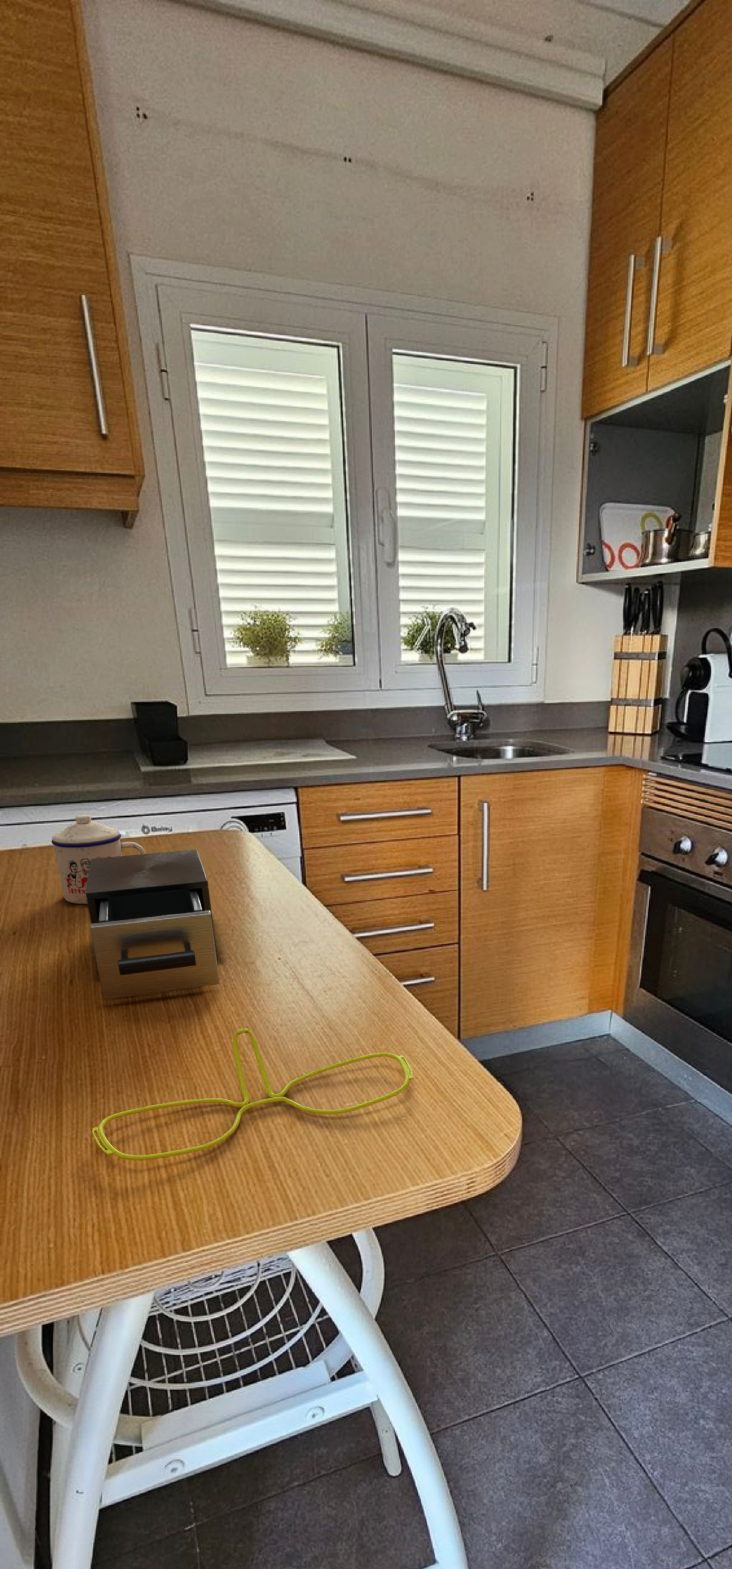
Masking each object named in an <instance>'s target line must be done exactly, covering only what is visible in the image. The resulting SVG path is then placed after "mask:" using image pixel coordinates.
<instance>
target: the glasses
mask: <svg viewBox="0 0 732 1569" xmlns="http://www.w3.org/2000/svg"><path fill="white" fill-rule="evenodd" d="M242 1034H248V1035H249V1038H250V1041H251V1045H252V1048H253V1052H254V1055H255V1058H256V1062H257V1066H258V1069H259V1072H260V1075H261V1079H262V1081H263V1084H264V1088H265V1091H266V1093H267V1095H268V1098H264V1099H260V1100H256V1101H253V1102H250V1097H249V1092H248V1089H247V1084H246V1081H245V1076H244V1072H243V1068H242V1063H241V1058H240V1052H239V1047H238V1036H240V1035H242ZM232 1053H233V1058H234V1063H235V1068H236V1072H237V1078H238V1082H239V1086H240V1091H241V1094H242V1098H243V1101H240V1102H238V1101H233V1100H230V1099H226V1098H221V1097H219V1098H218V1097H212V1098H195V1099H185V1100H179V1101H172V1102H171V1101H170V1102H163V1103H160V1104H159V1103H158V1104H151V1105H146V1106H142V1107H137V1108H133V1109H129V1110H124V1111H121V1112H116V1113H114V1114H111V1115H109V1116H106V1117H105V1118H103V1119H102V1121H100V1123H99V1124H98V1126H96V1127H93V1128H92V1129H91V1132H92V1136H93V1138H94V1141H95V1143H96V1144H97V1146H98V1147H99V1149H100V1150H101V1151H102V1152H103V1153H104V1154H105V1155H107V1156H111V1155H114V1156H115V1157H117V1158H120V1159H122V1160H126V1161H150V1160H159V1159H164V1158H171V1157H176V1156H183V1155H186V1154H191V1153H196V1152H200V1151H204V1150H207V1149H210V1148H211V1147H215V1146H216V1145H218V1144H220V1143H222V1142H224V1141H225V1140H227V1139H228V1138H230V1136H231V1135H232V1134H234V1132H236V1130H237V1128H238V1126H239V1125H240V1122H241V1118H242V1116H243V1113H244V1112H245V1111H246V1110H249V1109H252V1108H255V1107H259V1106H262V1105H267V1104H271V1103H277V1102H285V1103H287V1104H288V1105H290V1106H292V1107H294V1108H296V1109H298V1110H300V1111H303V1112H306V1113H308V1114H309V1113H310V1114H316V1115H340V1114H346V1113H351V1112H354V1111H358V1110H361V1109H364V1108H368V1107H370V1106H374V1105H376V1104H379V1103H381V1102H384V1101H387V1100H389V1099H391V1098H393V1097H395V1096H398V1095H399V1094H401V1093H402V1092H404V1091H405V1090H406V1089H407V1088H408V1086H409V1085H410V1084H409V1083H410V1081H412V1080H414V1071H413V1068H412V1066H411V1064H410V1062H409V1061H408V1059H407V1058H406V1057H405V1056H404V1055H403V1054H402V1055H397V1054H394V1053H391V1052H375V1053H370V1054H366V1055H361V1056H358V1057H354V1058H349V1059H345V1060H343V1061H340V1062H337V1063H333V1064H330V1065H326V1066H323V1067H320V1068H319V1069H315V1070H313V1071H310V1072H308V1073H305V1074H303V1075H301V1076H299V1077H297V1078H295V1079H292V1080H291V1081H289V1082H288V1083H287V1084H286V1085H285V1086H284V1087H283V1089H282V1090H281V1091H280V1092H279V1093H274V1092H273V1090H272V1087H271V1083H270V1080H269V1078H268V1075H267V1072H266V1068H265V1066H264V1062H263V1059H262V1056H261V1052H260V1049H259V1045H258V1042H257V1040H256V1038H255V1036H254V1034H253V1032H252V1031H250V1030H249V1029H248V1028H240V1029H238V1030H236V1031H235V1033H234V1036H233V1037H232ZM375 1058H391V1059H393V1060H396V1062H398V1063H399V1065H400V1067H401V1069H402V1071H403V1074H404V1082H403V1084H402V1085H401V1086H400V1087H399V1088H397V1089H395V1090H393V1091H392V1092H390V1093H388V1094H384V1095H382V1096H379V1097H377V1098H374V1099H370V1100H368V1101H366V1102H362V1103H358V1104H356V1105H353V1106H348V1107H344V1108H336V1109H319V1108H313V1107H309V1106H304V1105H303V1104H301V1103H299V1102H296V1101H294V1100H292V1099H290V1098H287V1097H286V1096H285V1095H286V1094H287V1092H288V1091H289V1090H290V1088H291V1087H293V1086H294V1085H296V1084H298V1083H301V1082H302V1081H305V1080H307V1079H309V1078H311V1077H314V1076H316V1075H319V1074H322V1073H325V1072H327V1071H330V1070H334V1069H336V1068H340V1067H343V1066H346V1065H349V1064H355V1063H358V1062H362V1061H364V1060H365V1061H367V1060H370V1059H375ZM410 1073H411V1074H410ZM269 1097H270V1098H269ZM198 1104H225V1105H229V1106H232V1107H234V1108H239V1110H238V1111H237V1113H236V1116H235V1120H234V1122H233V1124H232V1126H231V1127H230V1129H228V1130H227V1131H226V1132H225V1133H224V1134H222V1135H220V1136H219V1137H217V1138H216V1139H214V1140H211V1141H210V1142H207V1143H204V1144H201V1145H197V1146H192V1147H188V1148H183V1149H178V1150H173V1151H172V1150H171V1151H165V1152H157V1153H152V1154H151V1153H150V1154H140V1155H139V1154H127V1153H123V1152H121V1151H119V1150H118V1149H116V1148H115V1147H114V1146H113V1145H112V1144H111V1143H110V1141H109V1140H108V1138H107V1136H106V1135H105V1132H104V1127H105V1126H106V1125H107V1123H109V1122H111V1121H113V1120H116V1119H120V1118H123V1117H126V1116H130V1115H135V1114H139V1113H144V1112H148V1111H154V1110H161V1109H166V1108H173V1107H179V1106H180V1107H181V1106H187V1105H198ZM96 1132H97V1135H96ZM98 1138H99V1139H98ZM102 1145H103V1146H104V1147H103V1146H102Z"/></svg>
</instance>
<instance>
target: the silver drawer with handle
mask: <svg viewBox="0 0 732 1569" xmlns="http://www.w3.org/2000/svg"><path fill="white" fill-rule="evenodd" d="M212 919H213V918H212ZM212 919H211V913H210V911H202V908H201V904H200V901H199V897H198V894H197V890H196V889H188V890H178V891H169V892H159V893H149V894H140V895H130V896H121V897H111V898H101V902H100V913H99V923H94V924H91V923H90V926H89V930H90V934H91V941H92V945H93V950H94V956H95V962H96V968H97V972H98V979H99V984H100V989H101V995H102V999H103V1001H109V1000H114V999H115V1000H116V999H124V998H131V997H137V996H143V995H144V996H145V995H151V994H158V993H165V992H173V991H180V990H186V989H193V988H200V987H201V988H202V987H208V986H215V985H220V984H221V983H220V982H221V981H220V976H219V967H218V961H217V958H218V957H217V958H216V950H217V949H216V950H215V943H214V935H213V927H214V926H213V927H212Z"/></svg>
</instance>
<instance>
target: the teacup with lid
mask: <svg viewBox="0 0 732 1569" xmlns="http://www.w3.org/2000/svg"><path fill="white" fill-rule="evenodd" d="M74 820H75V822H74V823H71V824H69V825H67V827H66V828H65V829H63V830H60V831H58V832H55V833H54V834H53V835H52V837H51V844H52V845H53V847H54V852H55V857H56V862H57V867H58V873H59V877H60V883H61V889H62V894H63V898H64V900H65V901H66V902H69V903H72V904H76V905H88V904H87V898H86V888H87V881H88V874H89V867H90V860H91V859H95V858H106V857H117V856H124V855H123V850H122V849H128V848H132V849H135V850H137V851H138V852H139V853H140V854H147V853H146V850H145V848H144V847H143V846H142V845H141V844H139V843H137V842H134V841H125V842H121V838H122V834H121V832H120V831H119V830H118V829H117V828H116V827H112V826H107V825H105V824H102V823H100V822H98V821H93V820H92V817H91V815H90V814H79V815H76V816H75V818H74Z"/></svg>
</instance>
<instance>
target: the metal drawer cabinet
mask: <svg viewBox="0 0 732 1569" xmlns="http://www.w3.org/2000/svg"><path fill="white" fill-rule="evenodd" d="M188 889H196V890H197V894H198V897H199V901H200V904H201V908H202V911H210V913H211V919H212V927H213V935H214V943H215V950H216V958H217V962H218V961H219V958H218V951H217V950H218V949H217V943H216V935H215V934H216V933H215V928H214V919H213V912H212V911H213V910H212V904H211V896H210V888H209V881H208V877H207V875H206V871H205V869H204V866H203V863H202V860H201V857H200V854H199V850H198V849H197V848H196V849H186V850H185V849H184V850H174V851H163V852H153V853H146V854H141V853H140V854H129V855H123V856H117V857H106V858H95V859H91V860H90V867H89V874H88V881H87V888H86V898H87V904H86V905H87V908H88V914H89V919H90V920H89V921H90V925H91V924H94V923H99V913H100V902H101V898H111V897H121V896H130V895H140V894H149V893H159V892H169V891H178V890H188Z"/></svg>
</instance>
